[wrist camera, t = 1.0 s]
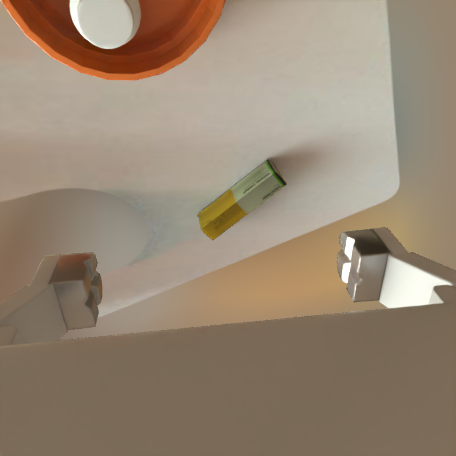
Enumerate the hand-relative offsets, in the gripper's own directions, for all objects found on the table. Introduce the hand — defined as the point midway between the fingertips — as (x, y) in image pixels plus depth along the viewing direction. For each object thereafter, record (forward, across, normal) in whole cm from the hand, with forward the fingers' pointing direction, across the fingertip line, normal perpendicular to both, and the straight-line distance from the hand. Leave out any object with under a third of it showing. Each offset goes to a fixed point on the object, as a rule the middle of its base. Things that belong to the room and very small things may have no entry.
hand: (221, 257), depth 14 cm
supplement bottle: (+33, +7, -7) cm, 34 cm away
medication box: (+38, -5, +16) cm, 42 cm away
